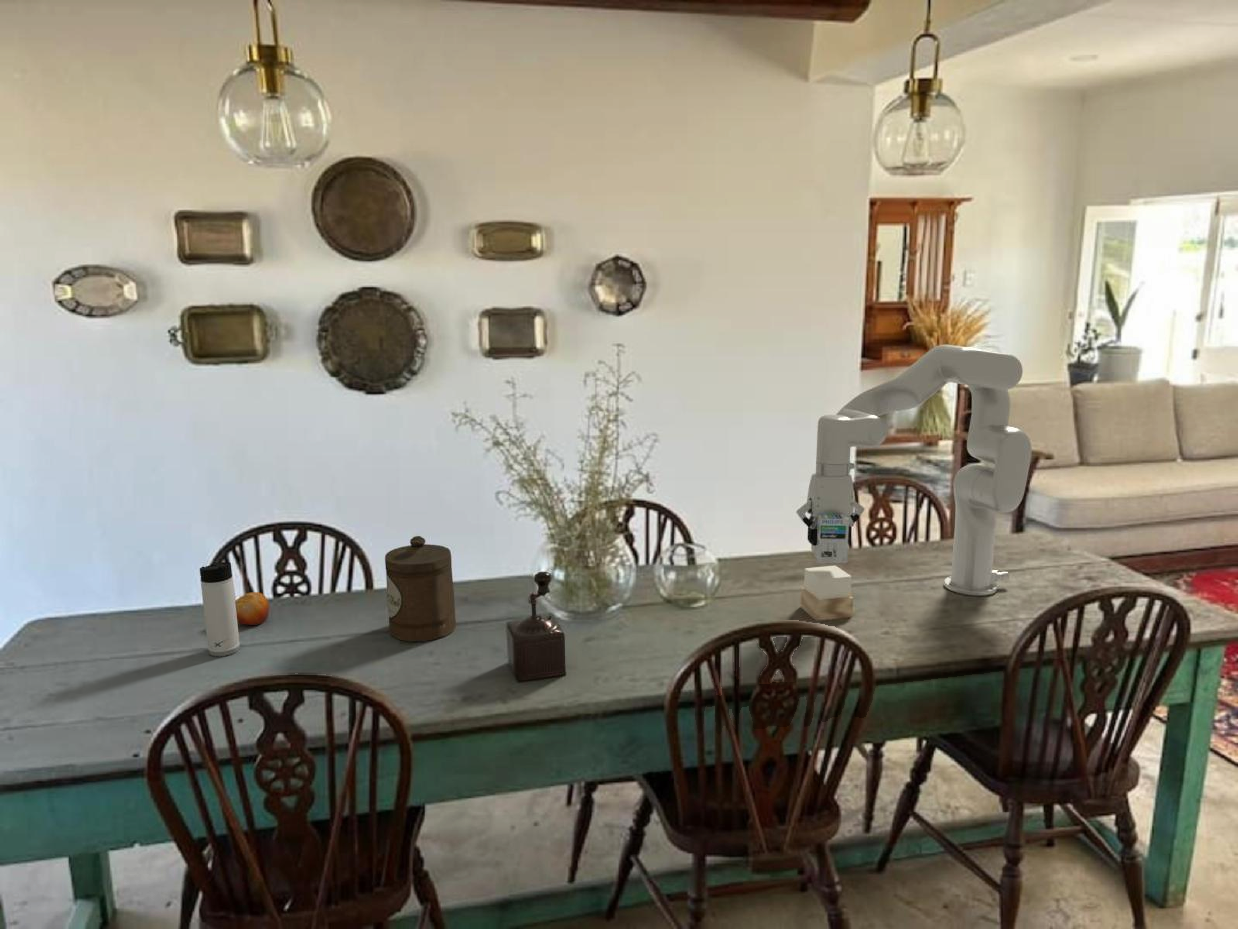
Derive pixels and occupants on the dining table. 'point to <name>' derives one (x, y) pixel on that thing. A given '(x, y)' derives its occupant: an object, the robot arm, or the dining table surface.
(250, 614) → the fruit
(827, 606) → the tower base
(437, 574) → the wooden container
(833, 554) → the light bulb box
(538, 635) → the manual coffee grinder
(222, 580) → the travel mug
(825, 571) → the tower top
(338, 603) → the dining table surface
